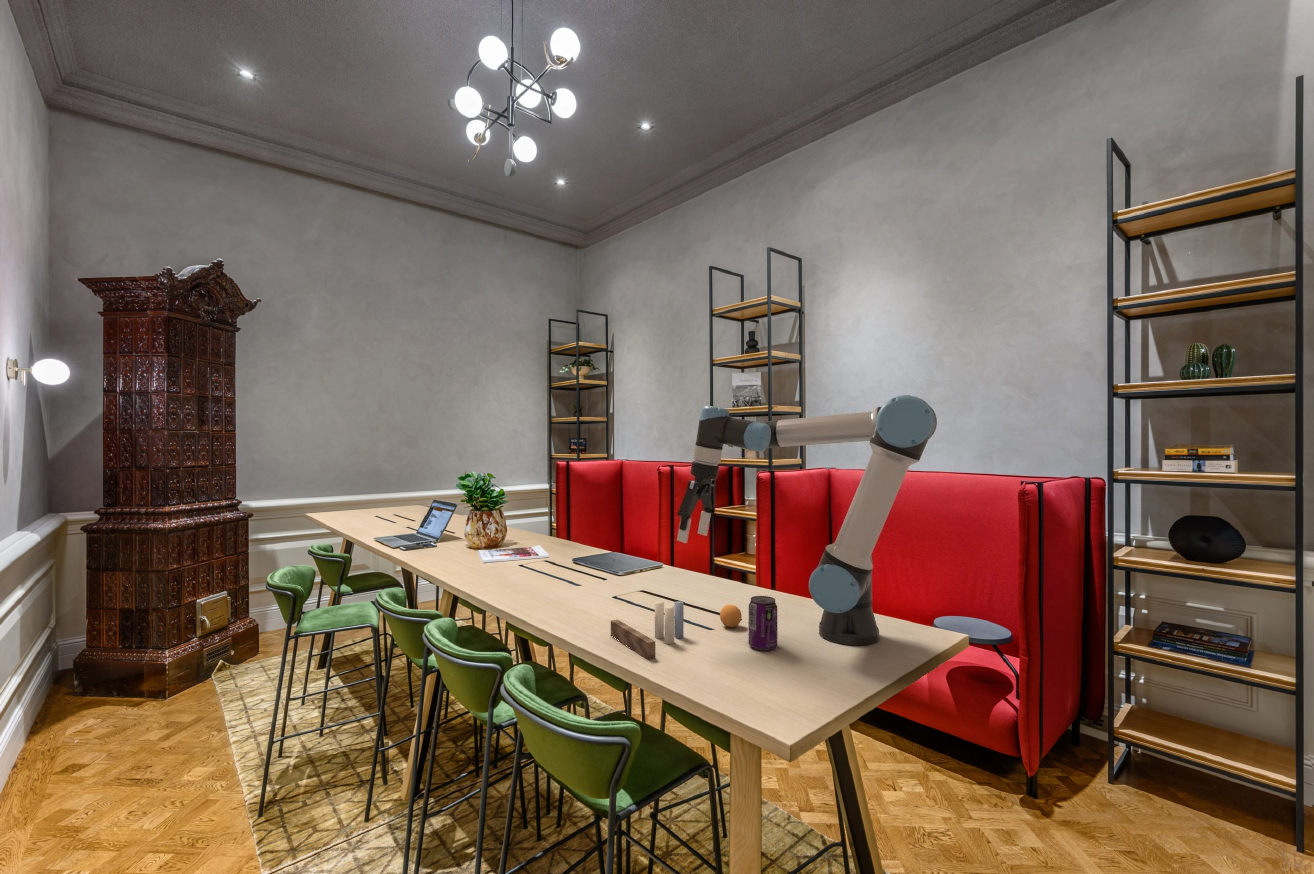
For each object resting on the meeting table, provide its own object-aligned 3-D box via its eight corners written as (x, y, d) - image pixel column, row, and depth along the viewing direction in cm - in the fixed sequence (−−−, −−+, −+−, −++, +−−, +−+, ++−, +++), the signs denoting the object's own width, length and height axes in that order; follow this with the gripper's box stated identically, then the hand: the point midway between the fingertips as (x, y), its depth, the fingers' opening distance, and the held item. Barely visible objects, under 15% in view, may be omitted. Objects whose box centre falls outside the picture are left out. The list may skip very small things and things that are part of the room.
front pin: (685, 637, 154) (685, 603, 154) (677, 639, 153) (677, 604, 153) (680, 634, 156) (680, 600, 157) (672, 636, 155) (672, 602, 155)
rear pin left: (675, 643, 150) (675, 607, 150) (667, 644, 149) (667, 609, 149) (670, 640, 152) (670, 605, 152) (662, 642, 151) (662, 606, 151)
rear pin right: (665, 637, 154) (665, 603, 154) (657, 639, 153) (657, 604, 153) (660, 635, 156) (660, 600, 156) (653, 636, 155) (653, 602, 155)
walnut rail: (655, 658, 140) (655, 641, 140) (648, 659, 139) (648, 642, 139) (617, 634, 157) (617, 619, 157) (610, 635, 156) (610, 620, 156)
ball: (746, 627, 162) (746, 606, 162) (728, 631, 159) (728, 609, 159) (732, 622, 168) (732, 600, 168) (715, 625, 164) (715, 603, 165)
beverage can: (777, 653, 143) (777, 603, 143) (747, 650, 144) (747, 601, 145) (777, 643, 150) (777, 595, 150) (749, 641, 151) (749, 594, 152)
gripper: (711, 458, 174) (698, 528, 176) (673, 461, 152) (659, 541, 153) (734, 463, 170) (721, 535, 172) (700, 467, 148) (685, 548, 150)
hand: (692, 538), depth 163 cm, fingers open, 13 cm apart
